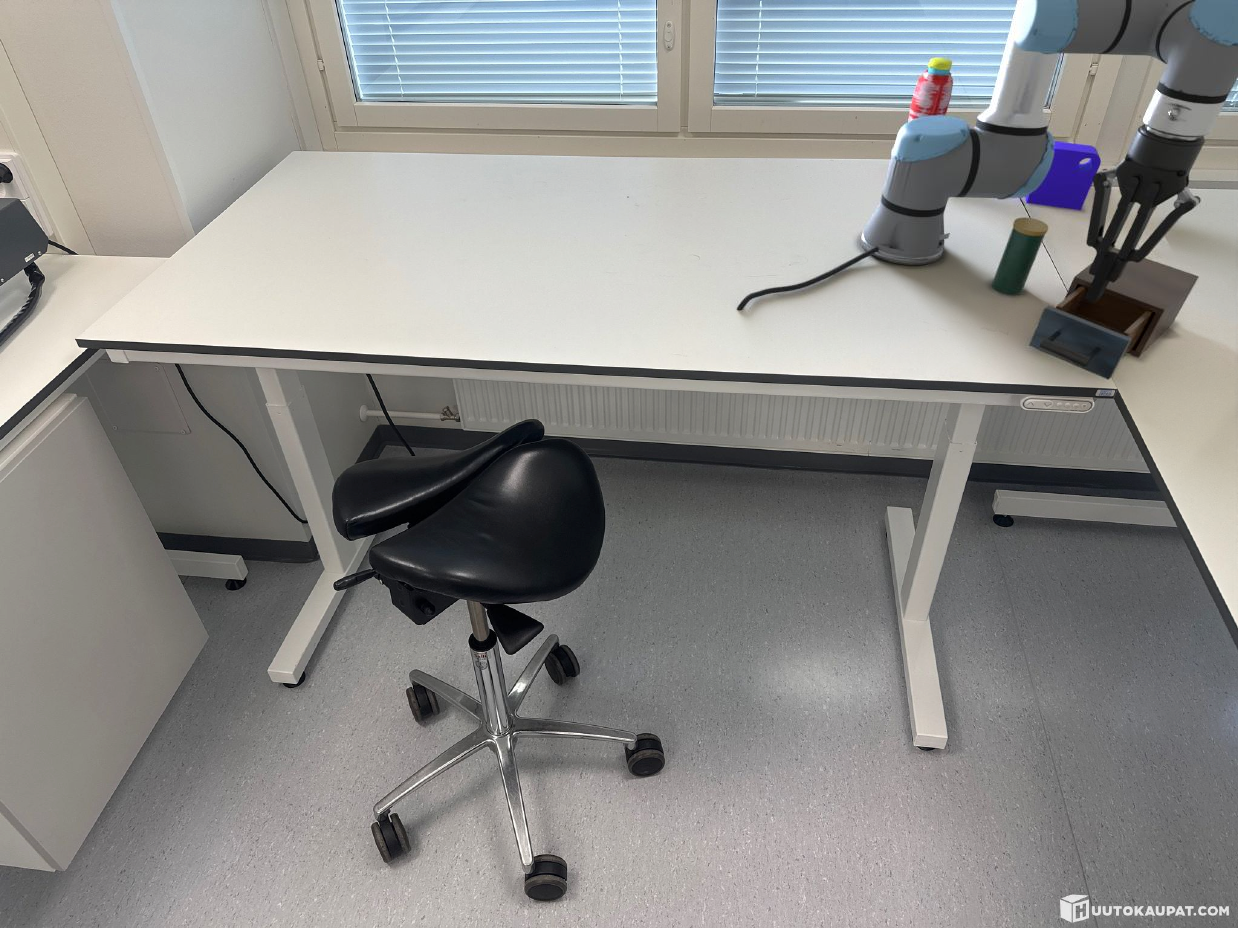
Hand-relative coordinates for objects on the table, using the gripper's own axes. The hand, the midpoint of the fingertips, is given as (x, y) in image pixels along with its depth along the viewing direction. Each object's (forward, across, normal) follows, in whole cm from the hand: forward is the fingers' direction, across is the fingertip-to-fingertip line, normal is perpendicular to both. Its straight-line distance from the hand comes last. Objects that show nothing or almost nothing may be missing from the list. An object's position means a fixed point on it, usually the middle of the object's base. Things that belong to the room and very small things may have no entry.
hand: (1093, 297), depth 115 cm
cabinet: (+13, 0, +22) cm, 25 cm away
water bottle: (+14, -57, +51) cm, 78 cm away
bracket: (+14, -32, +69) cm, 77 cm away
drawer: (+12, 0, +7) cm, 14 cm away
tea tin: (+13, -18, +20) cm, 30 cm away
